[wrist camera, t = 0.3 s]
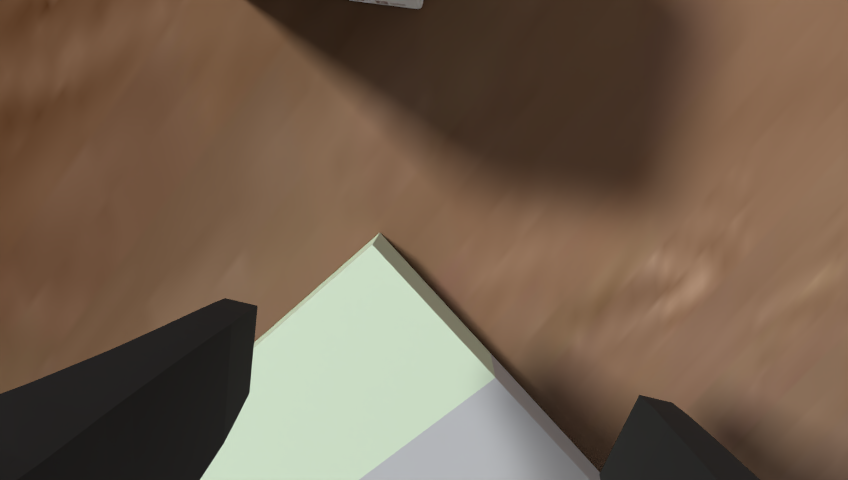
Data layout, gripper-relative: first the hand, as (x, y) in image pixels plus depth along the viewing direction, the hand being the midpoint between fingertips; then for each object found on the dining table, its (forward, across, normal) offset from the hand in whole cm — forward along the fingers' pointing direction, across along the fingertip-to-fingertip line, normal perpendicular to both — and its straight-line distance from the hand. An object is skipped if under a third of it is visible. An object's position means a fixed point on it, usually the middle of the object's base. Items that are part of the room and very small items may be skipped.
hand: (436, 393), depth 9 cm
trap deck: (+8, -1, +14) cm, 16 cm away
